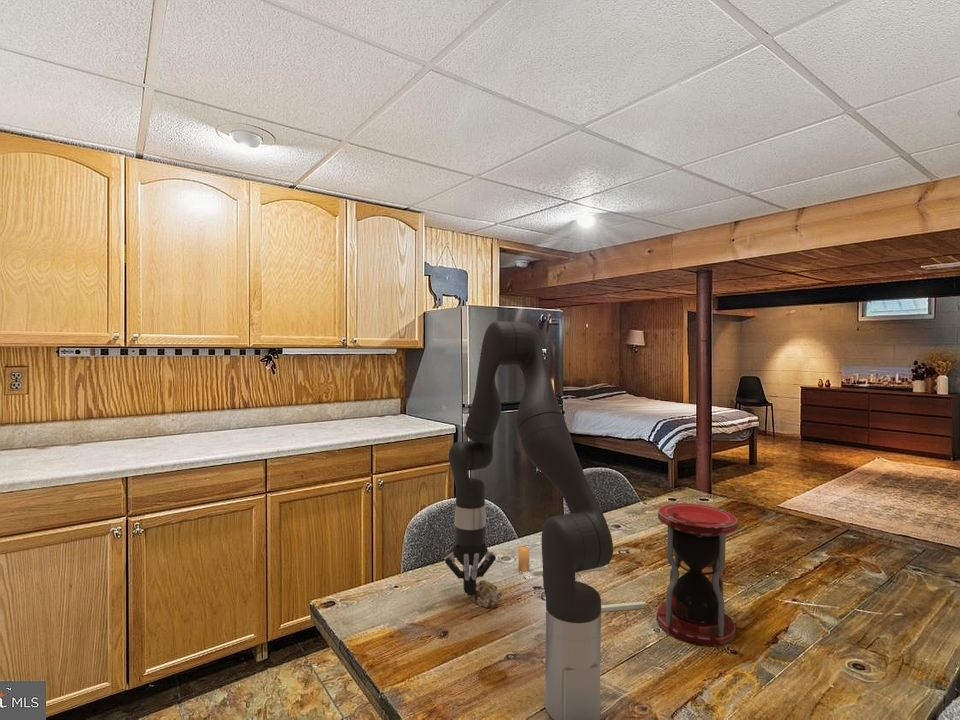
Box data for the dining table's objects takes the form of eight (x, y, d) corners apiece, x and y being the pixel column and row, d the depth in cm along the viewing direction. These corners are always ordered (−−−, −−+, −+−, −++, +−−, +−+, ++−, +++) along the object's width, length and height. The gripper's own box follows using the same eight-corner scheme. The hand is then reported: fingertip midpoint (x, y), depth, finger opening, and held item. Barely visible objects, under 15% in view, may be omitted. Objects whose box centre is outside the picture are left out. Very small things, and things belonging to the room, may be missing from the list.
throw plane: (654, 616, 117) (654, 590, 117) (551, 626, 113) (551, 599, 113) (600, 561, 147) (600, 541, 147) (517, 568, 142) (517, 546, 142)
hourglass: (641, 614, 118) (642, 506, 118) (696, 602, 124) (698, 499, 123) (693, 653, 103) (695, 530, 103) (753, 638, 109) (755, 521, 108)
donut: (681, 573, 140) (681, 558, 140) (676, 558, 150) (676, 545, 150) (721, 577, 138) (721, 562, 138) (713, 562, 147) (714, 548, 147)
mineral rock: (463, 582, 130) (492, 570, 131) (467, 597, 130) (496, 586, 132) (472, 604, 119) (504, 591, 121) (477, 621, 120) (508, 608, 122)
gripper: (444, 530, 119) (444, 603, 120) (500, 526, 122) (499, 598, 122) (441, 519, 127) (440, 588, 127) (493, 516, 129) (493, 584, 130)
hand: (469, 593), depth 125 cm, fingers closed
